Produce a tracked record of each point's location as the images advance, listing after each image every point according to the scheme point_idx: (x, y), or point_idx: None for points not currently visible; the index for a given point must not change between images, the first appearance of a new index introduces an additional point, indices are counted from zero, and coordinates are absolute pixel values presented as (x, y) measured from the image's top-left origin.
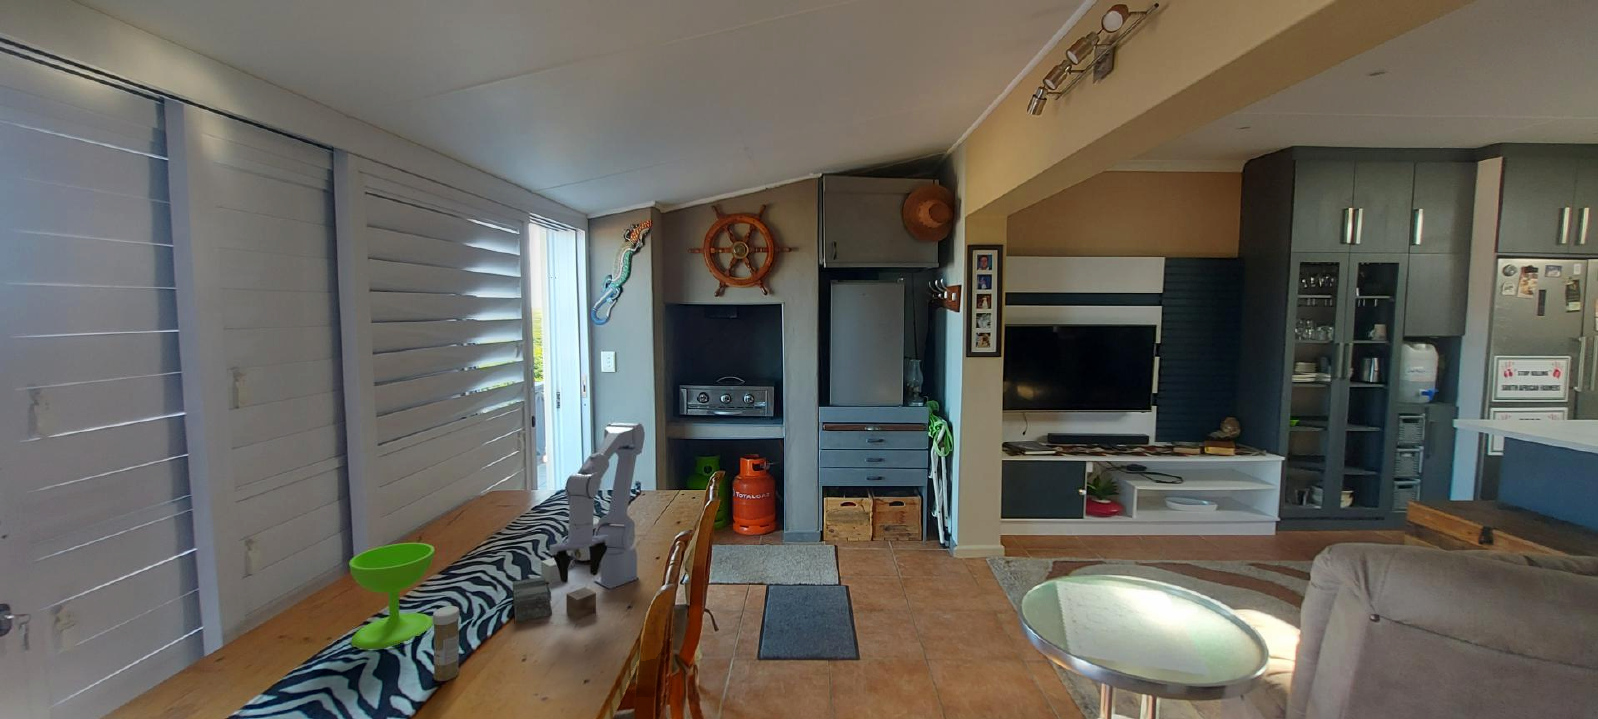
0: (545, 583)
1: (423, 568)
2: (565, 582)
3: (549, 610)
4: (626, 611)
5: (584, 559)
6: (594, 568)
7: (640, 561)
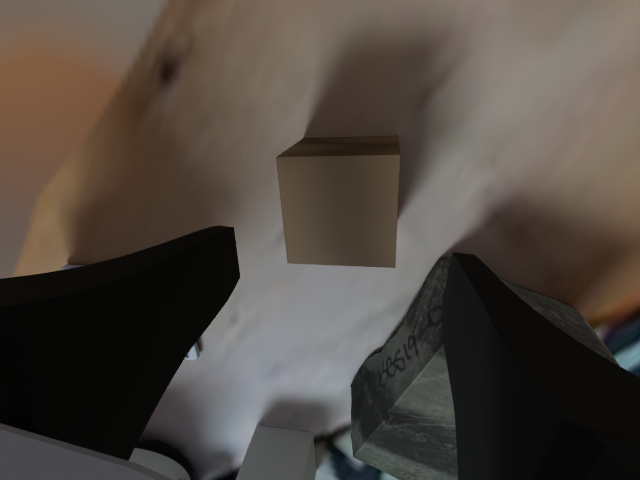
0: (390, 416)
1: None
2: (469, 254)
3: None
4: (194, 35)
5: (174, 464)
6: (205, 256)
7: None
